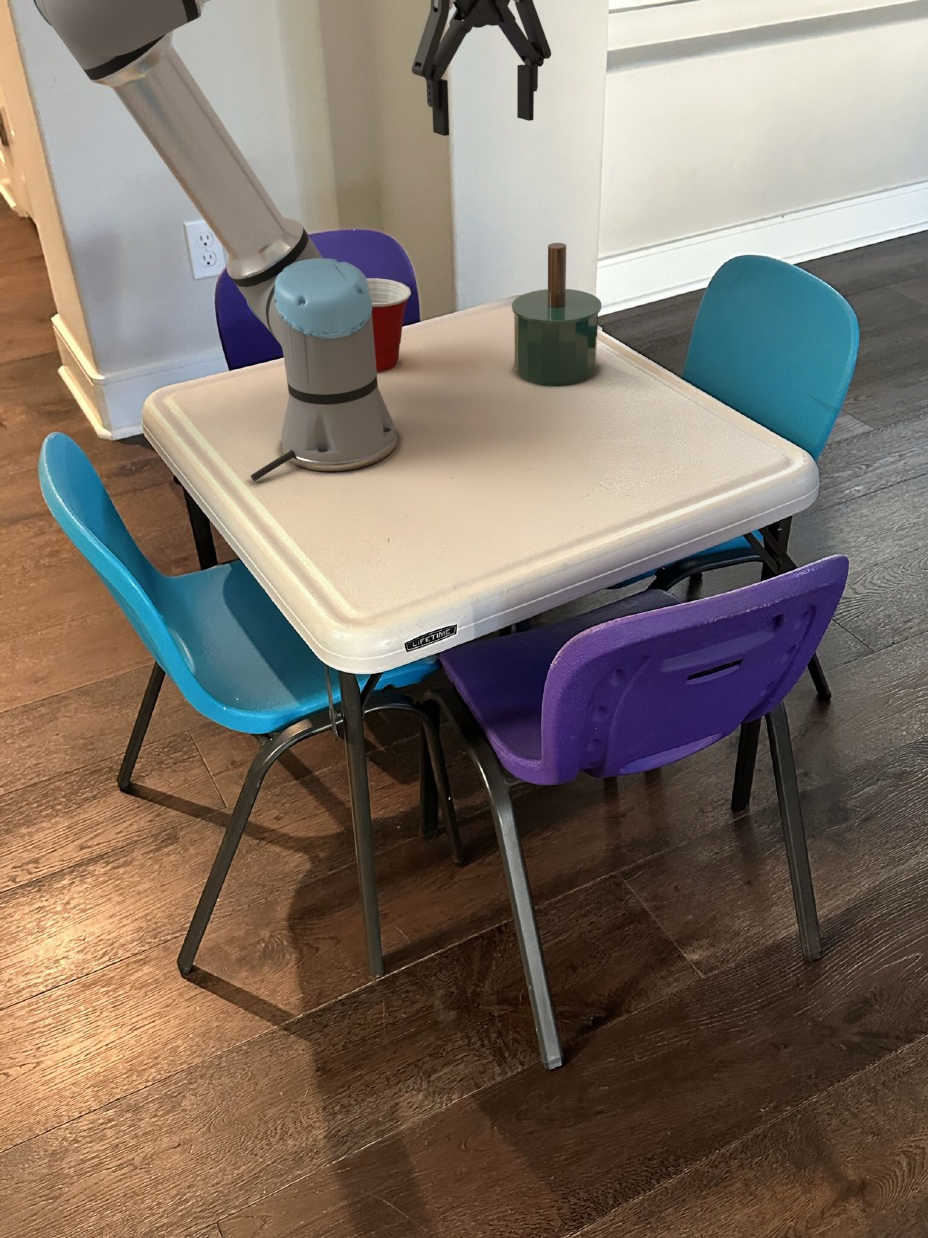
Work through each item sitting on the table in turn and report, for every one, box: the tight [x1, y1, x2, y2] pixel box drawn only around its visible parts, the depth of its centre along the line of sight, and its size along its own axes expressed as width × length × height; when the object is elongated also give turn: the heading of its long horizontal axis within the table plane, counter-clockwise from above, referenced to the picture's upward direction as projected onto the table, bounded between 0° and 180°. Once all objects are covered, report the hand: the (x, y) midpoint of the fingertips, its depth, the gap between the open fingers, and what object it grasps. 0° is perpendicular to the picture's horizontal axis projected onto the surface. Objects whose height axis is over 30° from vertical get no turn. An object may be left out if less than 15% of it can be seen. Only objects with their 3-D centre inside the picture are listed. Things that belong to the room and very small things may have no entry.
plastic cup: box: [366, 277, 412, 373], centre depth 170 cm, size 11×11×12 cm
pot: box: [513, 313, 599, 387], centre depth 167 cm, size 12×12×10 cm
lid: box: [511, 242, 603, 324], centre depth 161 cm, size 13×13×10 cm
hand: (484, 126), depth 150 cm, fingers open, 13 cm apart
